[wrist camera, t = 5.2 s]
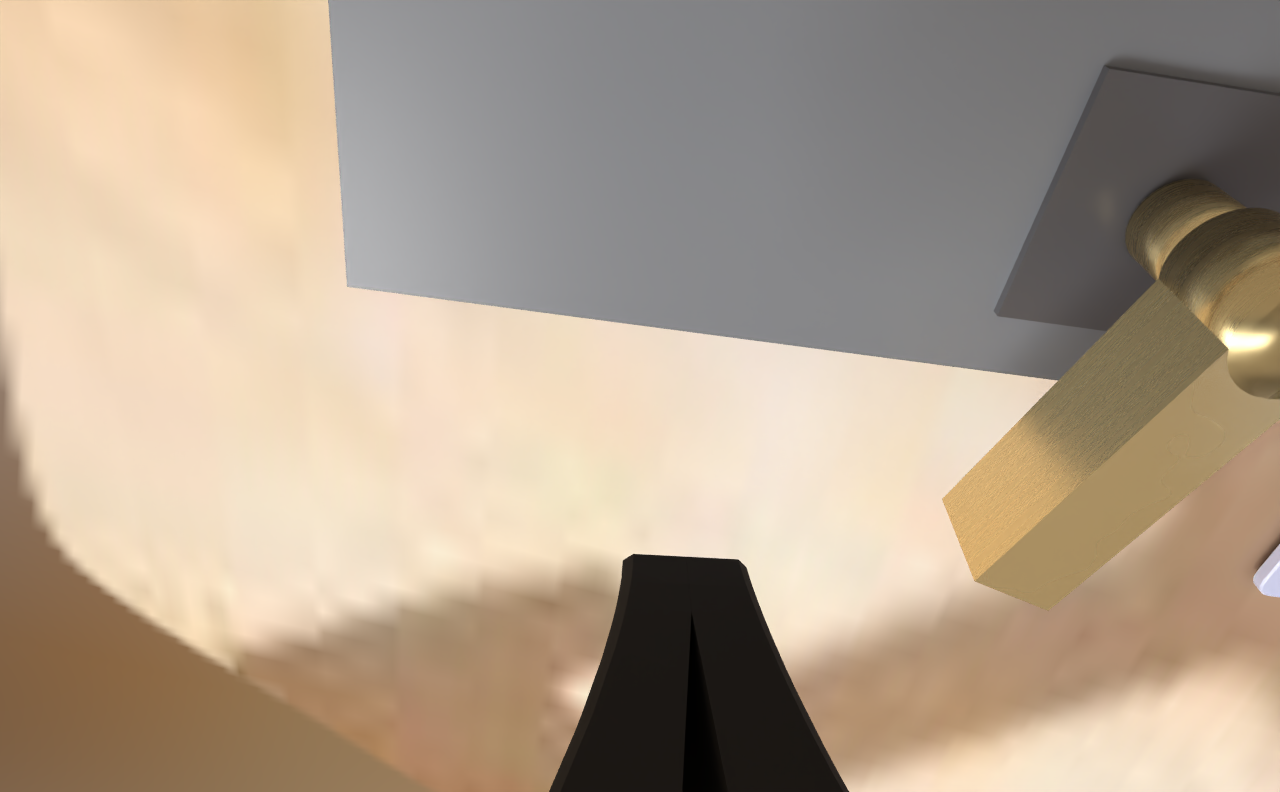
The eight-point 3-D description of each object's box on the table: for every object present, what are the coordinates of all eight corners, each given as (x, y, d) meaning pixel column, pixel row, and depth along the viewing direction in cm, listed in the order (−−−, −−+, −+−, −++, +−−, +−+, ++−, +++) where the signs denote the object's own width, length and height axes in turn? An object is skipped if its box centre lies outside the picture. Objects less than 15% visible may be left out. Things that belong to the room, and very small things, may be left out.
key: (1178, 145, 14) (1322, 247, 11) (1267, 200, 14) (1427, 311, 11) (912, 441, 17) (965, 577, 14) (990, 476, 18) (1056, 614, 15)
